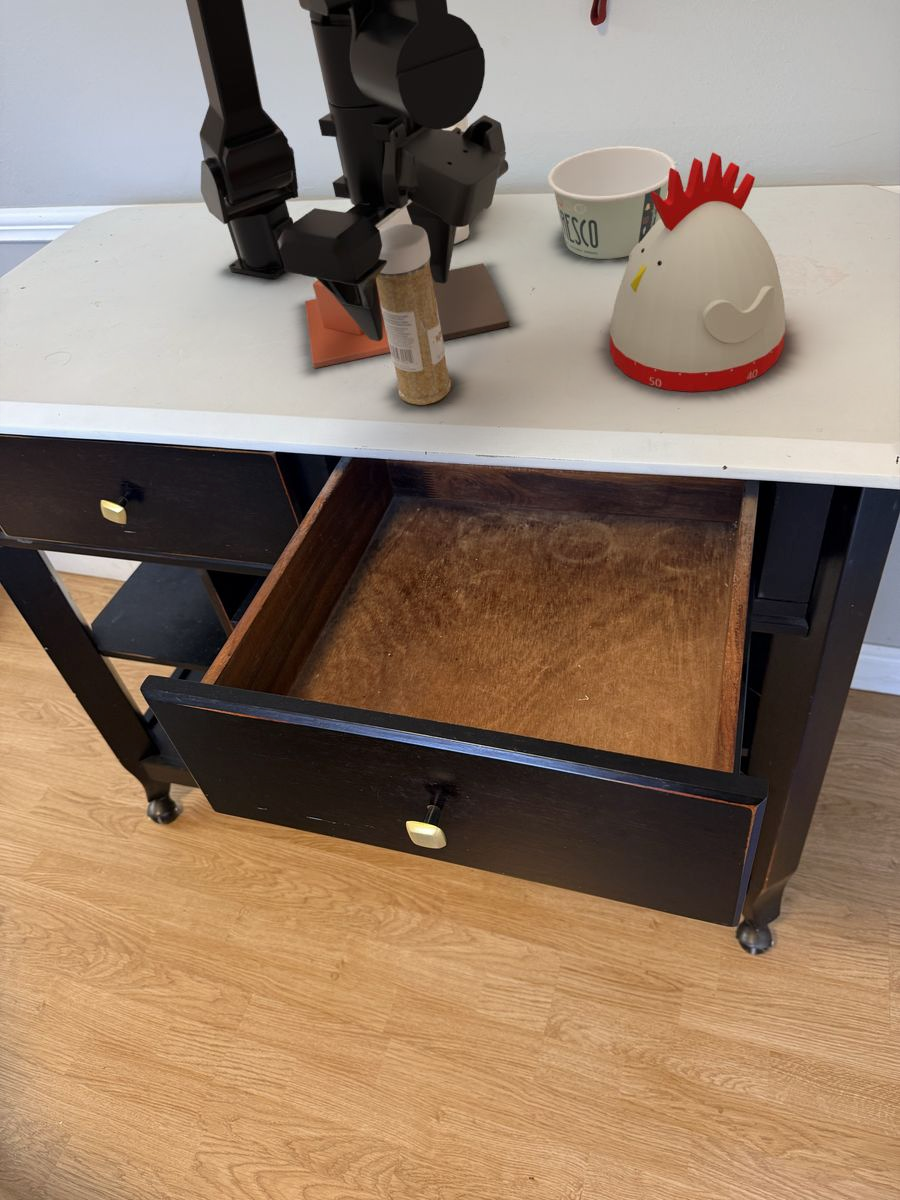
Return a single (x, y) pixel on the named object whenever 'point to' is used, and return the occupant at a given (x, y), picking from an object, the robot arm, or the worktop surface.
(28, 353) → the worktop surface
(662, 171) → the food container
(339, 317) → the terracotta block
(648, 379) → the kitchen timer
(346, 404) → the worktop surface
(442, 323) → the board
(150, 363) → the worktop surface
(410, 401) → the sprinkles bottle
